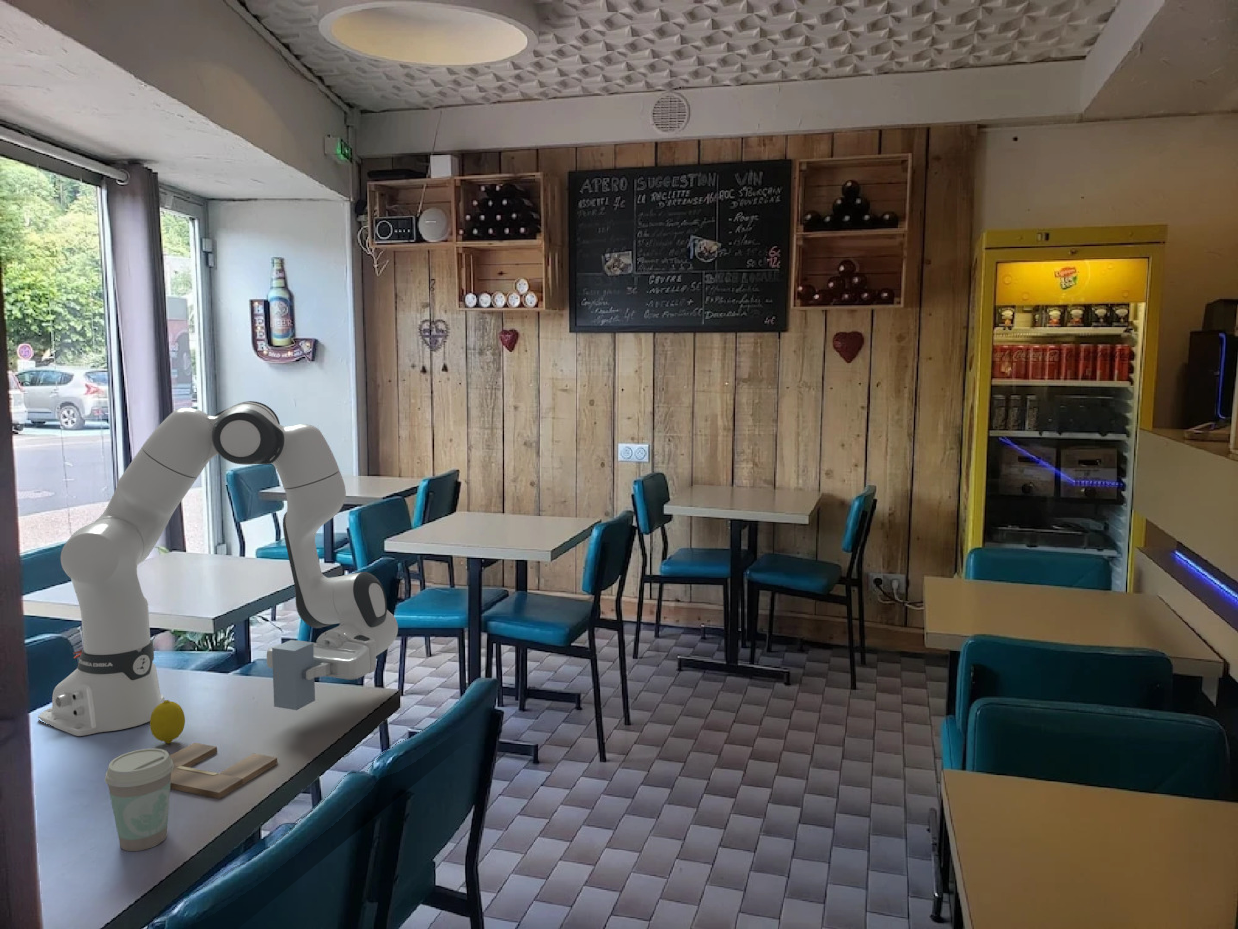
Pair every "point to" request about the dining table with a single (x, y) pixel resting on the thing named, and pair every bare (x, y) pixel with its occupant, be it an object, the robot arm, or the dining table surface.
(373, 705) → the dining table surface
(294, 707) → the blue-grey rectangular block
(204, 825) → the dining table surface
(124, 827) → the coffee cup
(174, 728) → the lemon
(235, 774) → the wooden u-shaped frame
